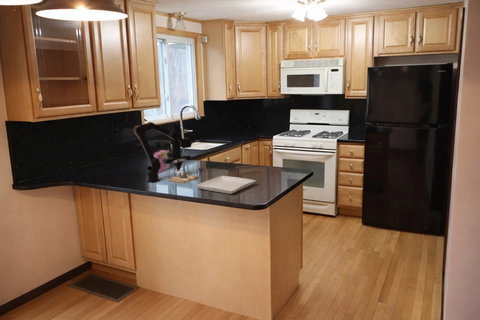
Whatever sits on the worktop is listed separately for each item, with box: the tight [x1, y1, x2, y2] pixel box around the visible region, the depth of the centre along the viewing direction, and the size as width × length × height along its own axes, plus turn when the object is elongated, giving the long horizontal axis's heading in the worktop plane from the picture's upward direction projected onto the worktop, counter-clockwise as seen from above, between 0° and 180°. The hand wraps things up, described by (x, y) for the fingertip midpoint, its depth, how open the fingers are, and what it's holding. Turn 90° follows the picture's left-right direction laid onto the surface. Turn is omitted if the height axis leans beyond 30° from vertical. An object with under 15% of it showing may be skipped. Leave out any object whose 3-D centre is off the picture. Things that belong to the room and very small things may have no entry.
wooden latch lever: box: [174, 169, 188, 178], centre depth 274 cm, size 13×5×3 cm, turn 37°
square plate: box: [195, 175, 256, 195], centre depth 248 cm, size 27×27×4 cm
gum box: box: [153, 149, 171, 174], centre depth 305 cm, size 24×8×14 cm, turn 168°
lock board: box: [167, 174, 199, 184], centre depth 272 cm, size 15×14×2 cm
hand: (178, 171), depth 278 cm, fingers closed
